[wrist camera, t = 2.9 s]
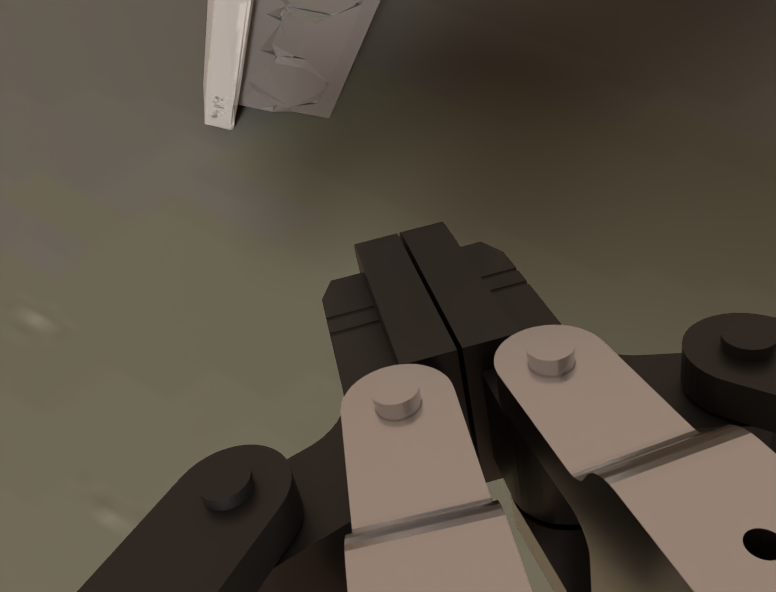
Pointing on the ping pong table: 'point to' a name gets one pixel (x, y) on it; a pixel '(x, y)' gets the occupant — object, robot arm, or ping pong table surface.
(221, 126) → the electrical switch
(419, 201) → the ping pong table surface
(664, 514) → the robot arm
